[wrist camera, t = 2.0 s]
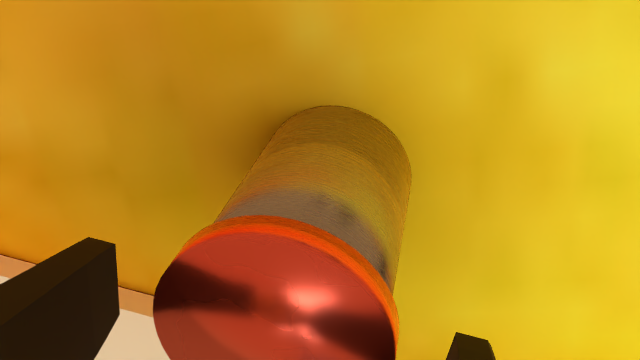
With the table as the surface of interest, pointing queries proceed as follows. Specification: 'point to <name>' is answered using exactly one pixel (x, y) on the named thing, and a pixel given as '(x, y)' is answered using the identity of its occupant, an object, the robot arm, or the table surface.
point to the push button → (297, 251)
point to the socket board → (128, 331)
